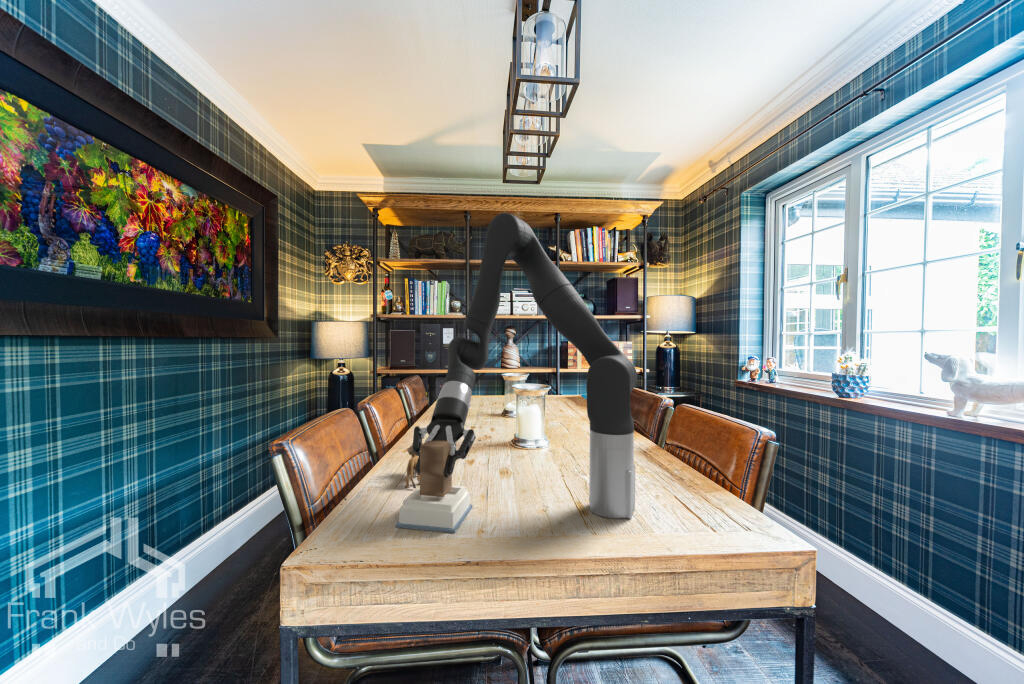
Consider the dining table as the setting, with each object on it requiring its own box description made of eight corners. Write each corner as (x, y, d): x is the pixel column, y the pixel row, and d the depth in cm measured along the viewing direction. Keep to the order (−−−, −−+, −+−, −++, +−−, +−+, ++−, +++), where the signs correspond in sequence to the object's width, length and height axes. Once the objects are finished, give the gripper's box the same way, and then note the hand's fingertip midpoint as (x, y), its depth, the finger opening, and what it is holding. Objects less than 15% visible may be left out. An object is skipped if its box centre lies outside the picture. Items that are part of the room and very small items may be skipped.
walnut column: (451, 487, 86) (451, 440, 86) (443, 497, 82) (443, 447, 81) (429, 486, 87) (429, 439, 87) (419, 495, 82) (420, 445, 82)
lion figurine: (407, 471, 113) (407, 439, 113) (426, 470, 114) (426, 438, 114) (404, 491, 98) (404, 454, 98) (427, 489, 100) (427, 452, 99)
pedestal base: (472, 507, 89) (472, 485, 89) (454, 532, 77) (454, 507, 77) (420, 502, 91) (420, 481, 91) (395, 527, 80) (395, 502, 80)
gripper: (418, 394, 93) (393, 463, 81) (479, 396, 90) (462, 468, 79) (427, 413, 98) (405, 480, 86) (485, 416, 95) (470, 485, 84)
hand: (432, 474), depth 83 cm, fingers closed on walnut column, 5 cm apart
